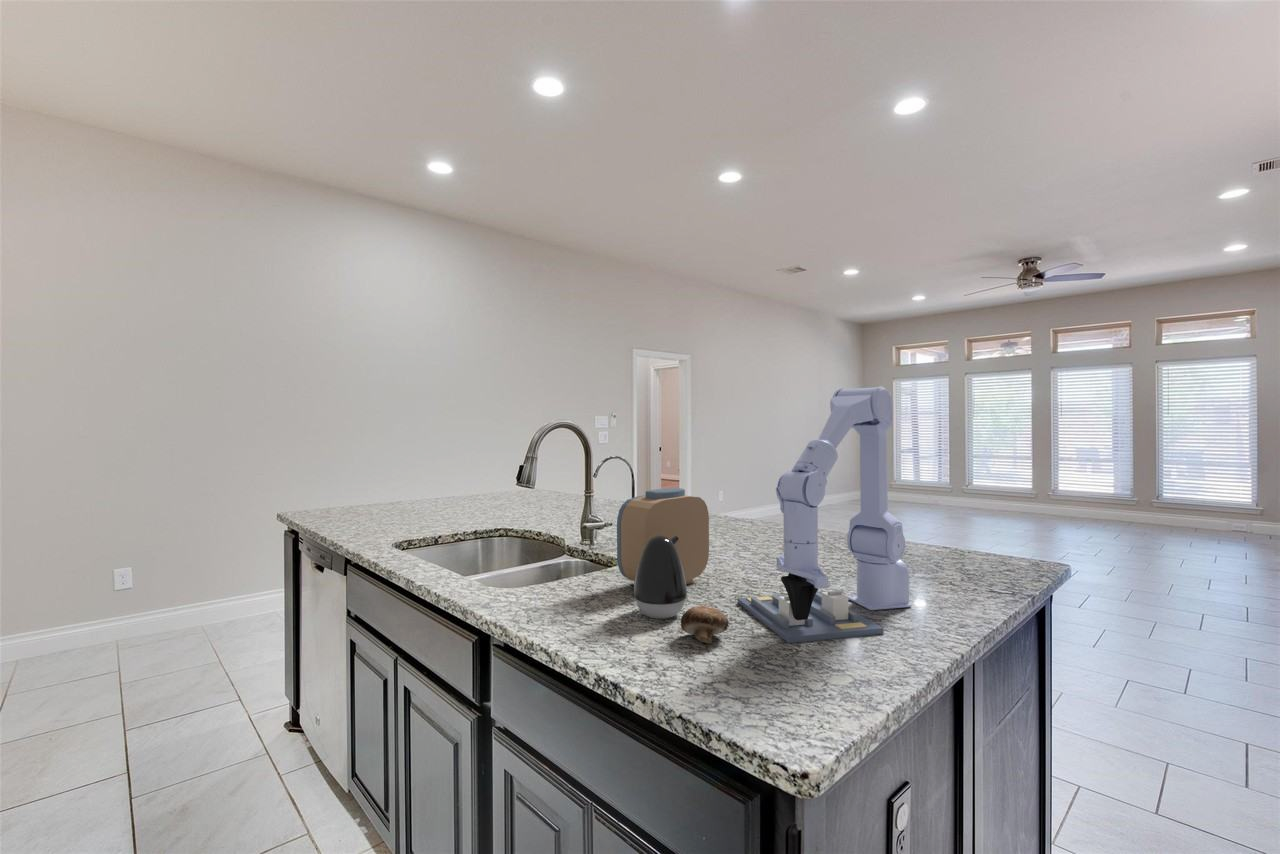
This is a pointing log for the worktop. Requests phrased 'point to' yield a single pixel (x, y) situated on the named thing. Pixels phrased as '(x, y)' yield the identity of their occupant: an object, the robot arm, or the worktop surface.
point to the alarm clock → (663, 529)
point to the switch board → (808, 621)
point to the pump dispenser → (660, 579)
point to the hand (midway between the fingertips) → (800, 618)
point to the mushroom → (704, 622)
